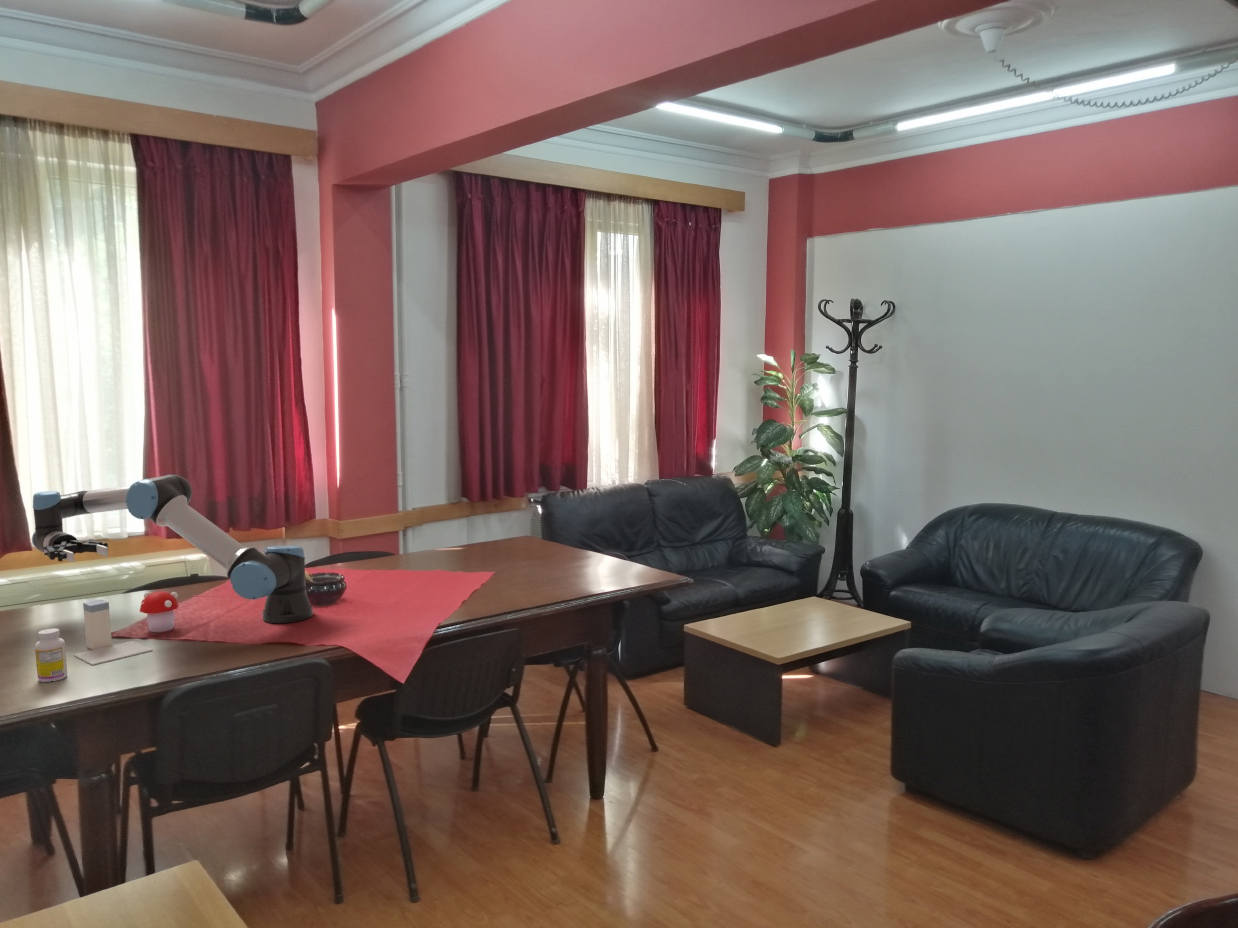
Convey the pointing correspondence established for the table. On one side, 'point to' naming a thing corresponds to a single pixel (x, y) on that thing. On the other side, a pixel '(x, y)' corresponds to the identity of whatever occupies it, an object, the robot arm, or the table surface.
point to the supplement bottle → (50, 656)
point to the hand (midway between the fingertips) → (89, 554)
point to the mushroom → (159, 610)
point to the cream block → (97, 624)
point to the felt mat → (112, 652)
